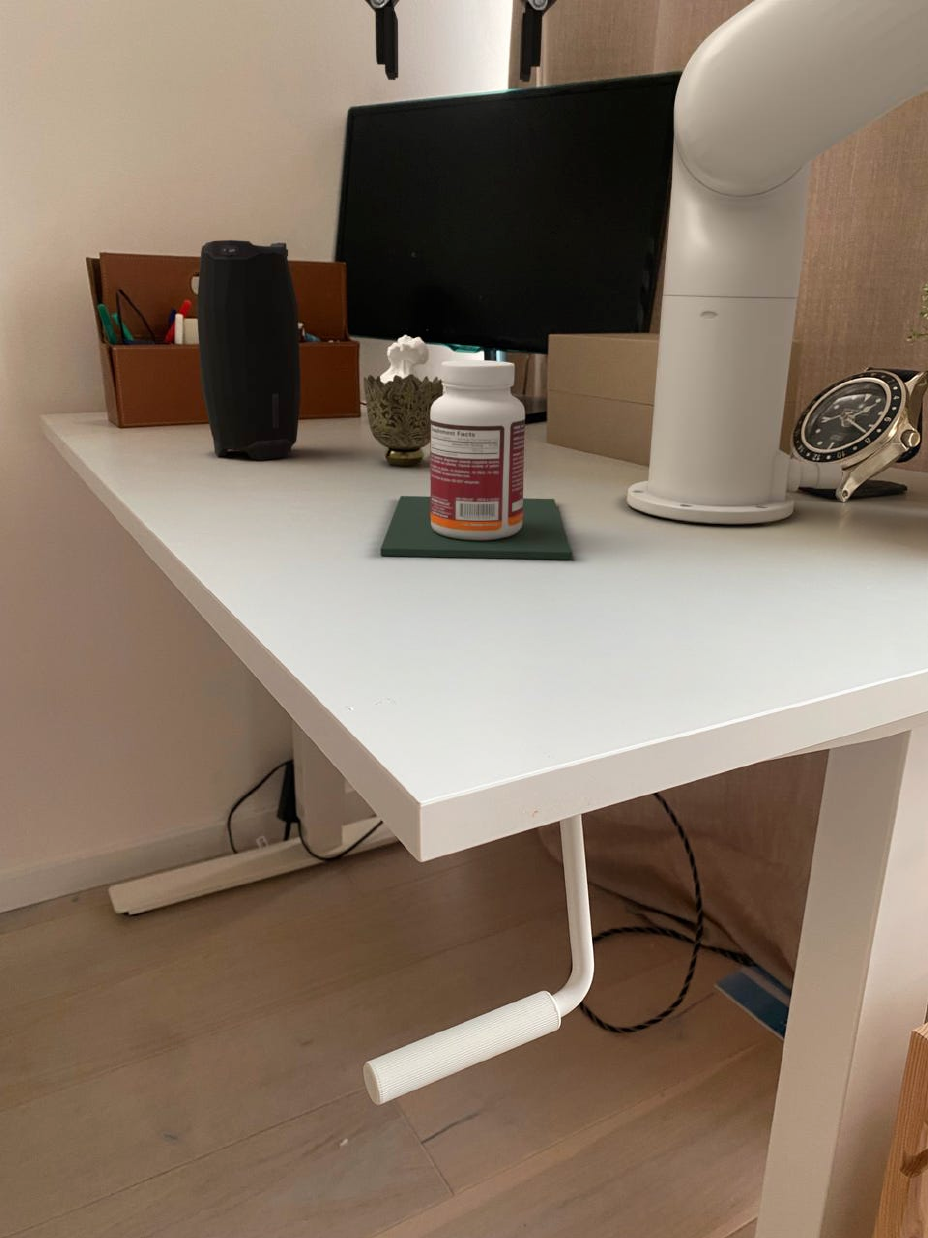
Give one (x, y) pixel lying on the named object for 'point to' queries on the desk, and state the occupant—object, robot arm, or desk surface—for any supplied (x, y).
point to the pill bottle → (477, 452)
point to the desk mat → (419, 539)
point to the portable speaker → (249, 347)
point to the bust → (405, 358)
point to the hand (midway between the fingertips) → (458, 77)
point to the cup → (401, 415)
